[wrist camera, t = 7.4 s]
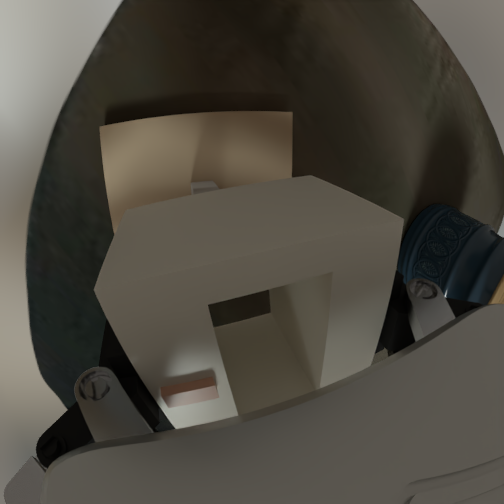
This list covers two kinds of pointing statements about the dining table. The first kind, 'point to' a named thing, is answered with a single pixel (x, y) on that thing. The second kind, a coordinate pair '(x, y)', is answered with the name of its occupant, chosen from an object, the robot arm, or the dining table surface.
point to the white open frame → (248, 282)
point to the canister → (454, 255)
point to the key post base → (192, 155)
